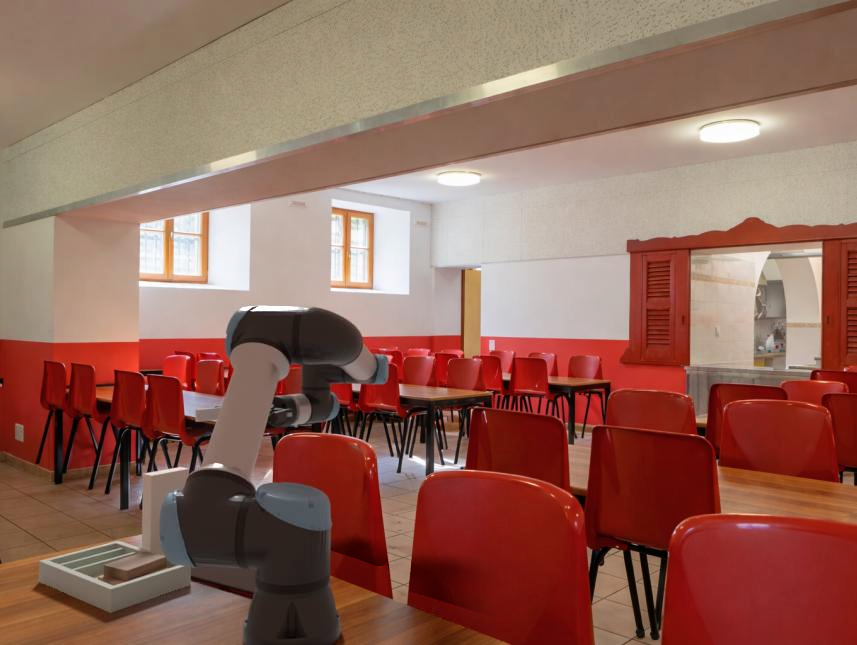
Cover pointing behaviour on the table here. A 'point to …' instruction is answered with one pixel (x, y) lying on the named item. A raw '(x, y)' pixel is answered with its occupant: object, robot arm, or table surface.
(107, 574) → the offcut upper
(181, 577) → the tray
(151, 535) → the white rectangular block
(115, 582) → the offcut lower
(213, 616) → the table surface
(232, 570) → the smartphone
